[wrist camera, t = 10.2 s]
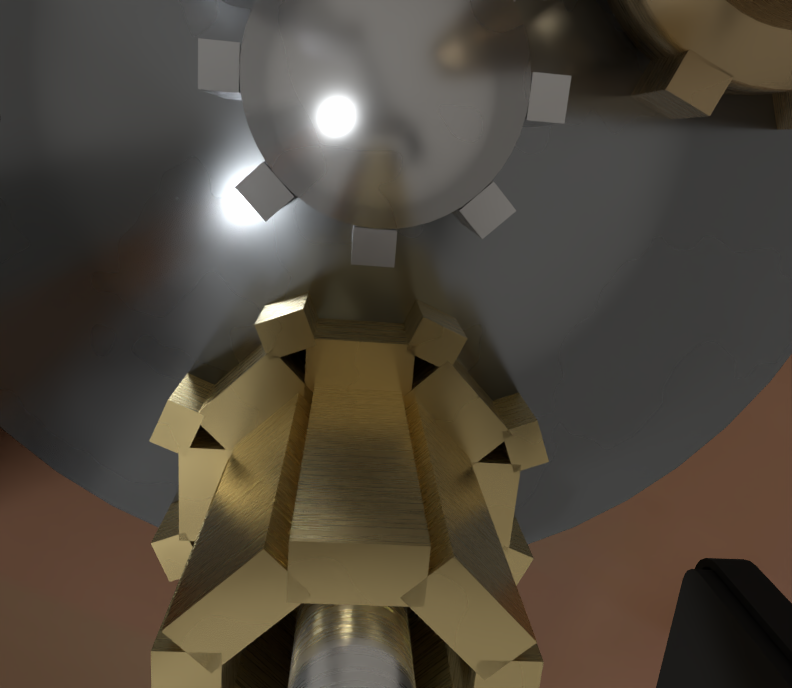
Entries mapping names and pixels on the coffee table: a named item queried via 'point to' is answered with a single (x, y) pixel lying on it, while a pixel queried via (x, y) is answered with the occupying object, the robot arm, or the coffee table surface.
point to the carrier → (396, 227)
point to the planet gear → (346, 503)
